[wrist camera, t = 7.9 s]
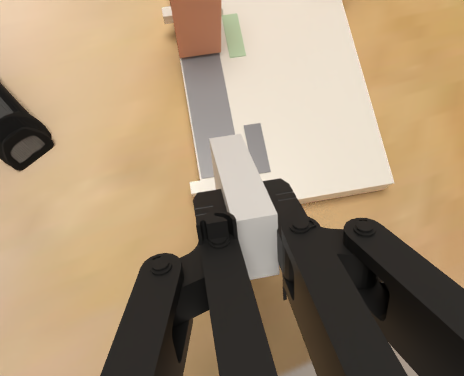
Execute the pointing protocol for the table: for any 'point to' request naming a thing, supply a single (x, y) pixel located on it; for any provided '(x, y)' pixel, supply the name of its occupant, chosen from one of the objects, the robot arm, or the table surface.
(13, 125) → the electric trimmer
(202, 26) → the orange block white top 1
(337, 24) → the white fixture board
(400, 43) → the table surface
